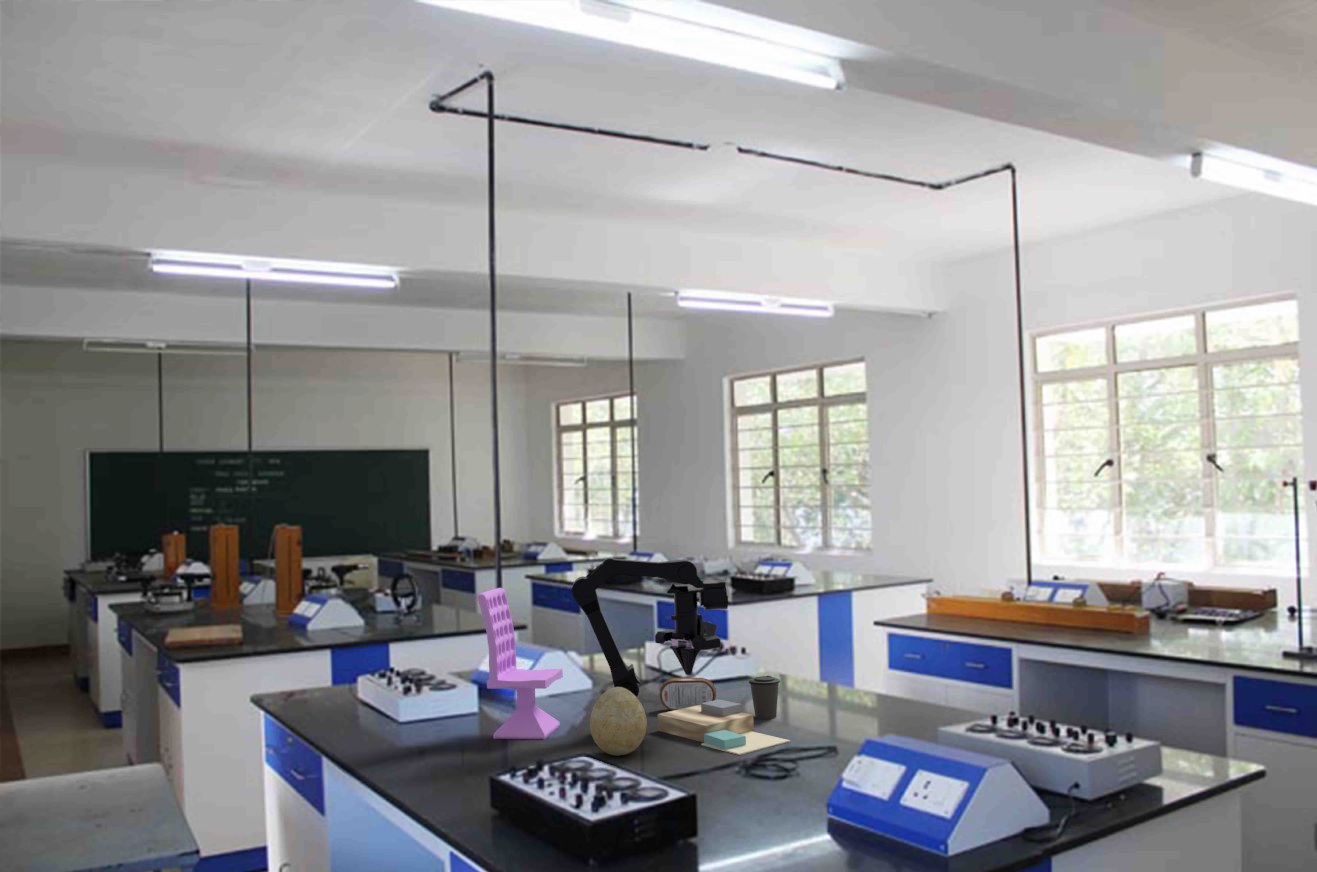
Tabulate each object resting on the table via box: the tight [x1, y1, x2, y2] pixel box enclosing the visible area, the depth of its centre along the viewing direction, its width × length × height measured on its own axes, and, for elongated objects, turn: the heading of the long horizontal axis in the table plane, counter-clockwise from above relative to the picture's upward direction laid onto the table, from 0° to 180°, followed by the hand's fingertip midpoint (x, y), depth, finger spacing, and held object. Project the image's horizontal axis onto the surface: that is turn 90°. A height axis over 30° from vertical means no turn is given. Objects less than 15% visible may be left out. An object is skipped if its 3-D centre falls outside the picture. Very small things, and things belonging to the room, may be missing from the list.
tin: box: [659, 677, 717, 711], centre depth 275 cm, size 15×3×8 cm, turn 84°
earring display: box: [476, 587, 563, 740], centre depth 257 cm, size 15×17×35 cm
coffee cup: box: [748, 675, 781, 720], centre depth 264 cm, size 8×8×10 cm
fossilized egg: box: [589, 686, 648, 757], centre depth 232 cm, size 13×13×15 cm
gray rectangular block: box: [701, 699, 743, 717], centre depth 253 cm, size 6×8×2 cm
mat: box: [700, 731, 791, 756], centre depth 238 cm, size 16×13×1 cm
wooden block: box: [657, 705, 755, 743], centre depth 251 cm, size 15×18×4 cm
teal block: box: [703, 730, 746, 749], centre depth 237 cm, size 6×8×2 cm
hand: (688, 674), depth 255 cm, fingers closed
